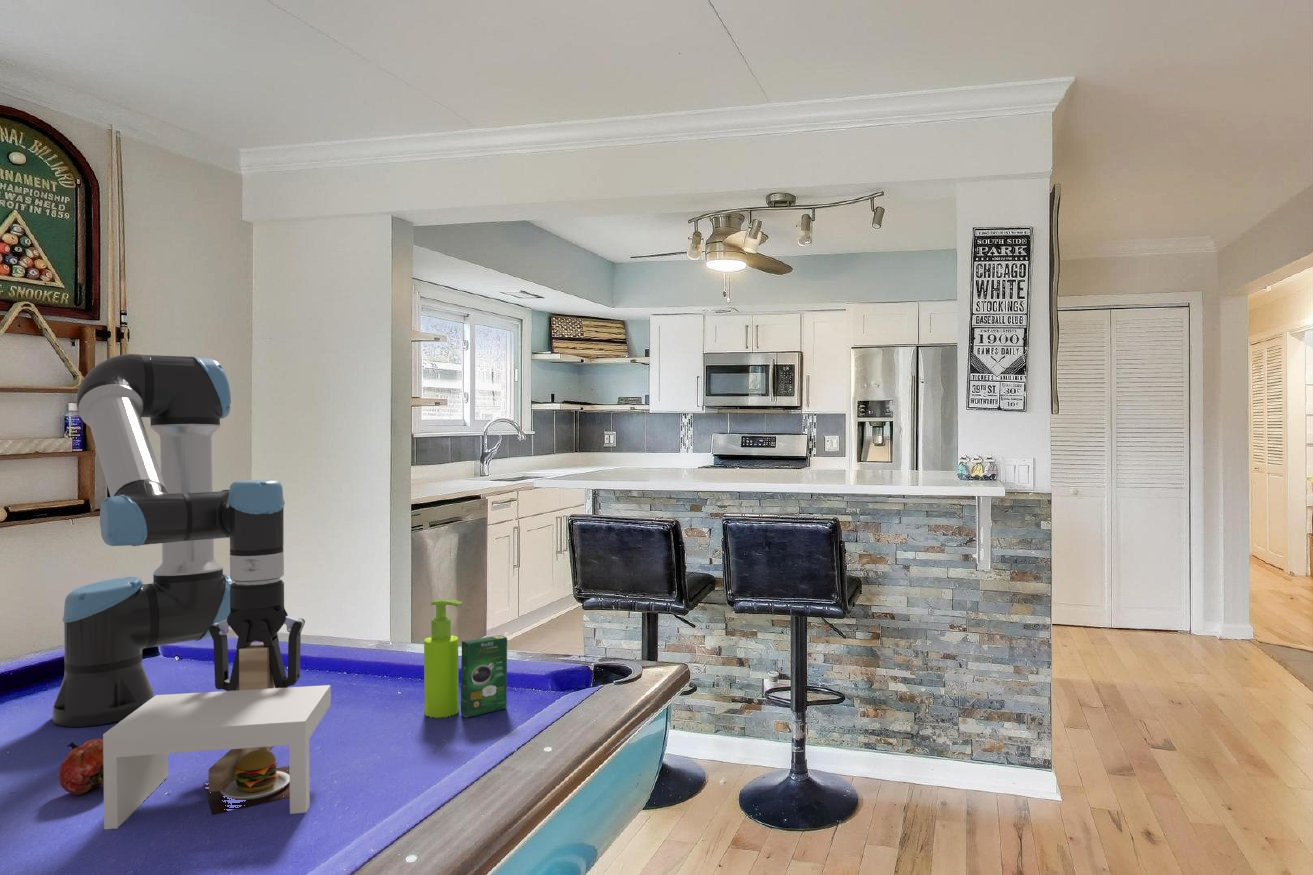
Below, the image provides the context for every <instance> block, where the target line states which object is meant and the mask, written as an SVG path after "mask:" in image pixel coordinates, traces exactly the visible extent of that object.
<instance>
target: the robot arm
mask: <svg viewBox="0 0 1313 875" xmlns="http://www.w3.org/2000/svg"><path fill="white" fill-rule="evenodd" d="M231 397H232V396H231V389H230V384H229V379H228V376H227V374H226V371H225V369H224V368H223V366H222V364H220V362H218V361H217V360H215V359H212V358H205V357H197V356H185V355H184V356H182V355H181V356H180V355H156V354H155V355H153V354H139V353H125V354H120V355H116V356H113V357H110V358H107V359H105V360H104V361H102V362H100V363H98V364H97V365H95V366H94V367H93V368H91V370H89V372H87V374H86V375H85V376H84V378H83V379H82V381H81V383H80V385H79V386H78V389H77V393H76V407H77V411H78V415H79V418H80V419H81V420H82V421H83V423H84V424H86V426H89V427H90V430H91V434H92V437H93V441H94V445H95V448H96V451H97V455H98V458H99V462H100V465H101V469H102V471H103V476H104V480H105V482H106V485H107V489H108V493H109V496H108V497H106V498H104V499H103V501H101V505H100V510H99V526H100V535H101V537H102V541H103V542H104V543H105V544H106V545H107V546H110V547H121V546H123V547H124V546H125V547H126V546H131V547H140V546H146V545H147V546H149V545H156V544H157V545H158V544H161V548H162V549H161V552H162V553H161V555H162V559H161V560H162V561H161V564H160V566H158V567H157V568H156V569H155V570H154V571H153V572H152V573H153V574H152V576H153V577H152V579H153V581H152V583H145V584H144V583H143V581H142V579H141V578H140V577H137V576H128V577H127V576H126V577H122V578H121V577H120V578H119V577H118V578H112V579H106V580H101V581H98V582H97V581H96V582H93V583H90V584H86V585H84V586H80V587H78V588H75V589H74V590H72V591H70V593H68V595H67V596H66V597H65V599H64V607H63V608H64V609H63V616H62V622H63V623H64V624H63V625H64V626H63V630H64V631H63V632H64V634H63V635H64V636H63V637H64V640H63V641H64V642H63V643H64V654H63V655H64V656H63V657H64V676H63V679H62V682H61V685H60V687H59V690H58V693H57V695H56V697H55V698H56V699H55V701H54V703H53V707H52V722H53V723H54V725H57V726H62V727H69V728H70V727H75V728H76V727H92V726H100V725H107V724H110V723H116V722H120V721H122V720H123V719H124V718H126V717H127V716H128V715H130V714H131V713H133V712H134V711H135V710H137V709H138V708H139V707H141V706H142V705H143V704H145V703H146V702H147V701H149V700H150V699H151V698H153V697H154V696H155V693H154V691H153V688H152V685H151V683H150V680H149V678H148V675H147V673H146V671H145V668H144V665H143V650H144V649H148V648H155V647H161V646H166V645H167V646H168V645H173V644H179V643H185V642H192V641H195V642H199V641H200V642H201V641H202V640H203V639H204V640H205V639H209V638H211V639H212V641H213V665H214V686H215V689H217V690H222V691H237V690H239V649H240V648H246V647H247V646H248V645H250V644H251V643H255V642H257V643H260V642H263V644H264V647H268V648H269V664H270V668H271V672H272V676H273V680H274V685H275V687H274V688H289V687H293V686H294V685H296V684H297V682H298V681H299V680H300V678H301V639H302V638H301V636H302V635H301V634H302V632H303V628H304V626H305V623H306V620H305V619H304V618H301V617H300V618H298V619H297V618H295V617H292V616H289V615H288V613H287V610H286V608H285V582H284V581H283V579H281V578H282V577H284V576H285V563H284V562H285V560H284V559H285V556H284V547H285V546H284V545H285V544H284V532H285V531H284V530H285V528H284V525H285V524H284V515H285V514H284V508H285V500H284V491H283V485H282V483H281V481H278V480H275V479H271V480H270V479H269V480H267V479H253V480H252V479H251V480H250V479H249V480H248V479H247V480H237V481H234V482H232V483H230V485H229V489H223V490H220V491H219V490H218V491H213V457H212V456H213V450H212V449H213V448H212V447H213V446H212V436H213V434H214V433H216V431H217V430H218V429H220V427H221V420H223V419H225V418H226V417H228V415H229V414H230V411H231V403H232V398H231ZM143 418H150V420H149V421H150V429H152V430H153V431H154V432H155V433H156V434H157V435H159V440H160V442H159V443H160V446H159V447H160V448H159V449H160V467H159V464H158V461H157V459H156V455H155V453H154V449H153V447H152V444H151V441H150V439H149V436H148V433H147V431H146V427H145V425H144V422H143ZM226 538H227V539H229V575H228V574H224V567H223V565H222V564H220V563H219V562H217V561H216V559H215V556H214V555H215V550H214V548H215V547H214V546H215V545H214V539H226ZM284 625H285V626H286V632H288V633H289V634H288V639H287V640H288V642H287V643H288V644H287V645H288V646H287V673H286V669H285V665H284V660H283V657H282V652H281V649H280V644H279V643H280V640H279V634H278V633H279V631H280V630H281V629H282V627H283V626H284ZM229 629H231V630H232V631H233V632H234V634H236V636H237V642H236V646H235V647H236V650H235V655H234V660H233V664H232V669H231V674H230V672H229V671H230V670H229V647H228V646H229V643H228V635H227V634H228V633H229V632H230V631H229Z"/></svg>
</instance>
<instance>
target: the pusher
mask: <svg viewBox="0 0 1313 875" xmlns="http://www.w3.org/2000/svg"><path fill="white" fill-rule="evenodd" d="M274 687H275V685H274V680H273V676H272V672H271V668H270V664H269V648H268V647H264V644H263V642H252V643H251V644H250V645H248V646H247V647H246V648H240V649H239V690H254V689H271V688H274ZM274 747H275V746H270V747H256V748H241V749H229V750H228V751H227V752H226V753H225V754H224V755H223V756H222V757H220V758H219V760H218V761H216V762H215V763H214V764H213V765H212V766H211V767H209V769H208V782H209V792H211V791H223V790H224V789H225V788H226V787H227V786H228V785H229V784H230V783H231V782H232V781H233V780H234V779H235V778H236V777H234V774H235V772H236V770H237V769H236V767H237V763H238V761H239V759H240V758H241V757H242V756H243V755H245V754H247V753H249V752H251V751H255V750H267V751H270V752H271V750H272V749H274Z"/></svg>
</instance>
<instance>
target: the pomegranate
mask: <svg viewBox="0 0 1313 875" xmlns="http://www.w3.org/2000/svg"><path fill="white" fill-rule="evenodd" d="M66 747H67V748H69V747H71V751H70V752H68V754H67V756H66V758H65V759H64V761H63V762H62V763H61V765H60V767H59V772H58V780H59V784H60V786H61V788H62V789H63V790H64V791H65V792H67V793H70V794H72V795H74V796H81V795H83V794H85V793H87V792H88V791H90V790H93V789H96V788H99V787H101V786H103V787H104V764H103V738H102V739H101V738H95V739H93V738H92V739H89V740H87V741H85V742H84V743H83V744H82V745H77V744H75V742H74V741H73V742H70V743H69V744H68V745H66Z"/></svg>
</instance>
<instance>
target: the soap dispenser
mask: <svg viewBox="0 0 1313 875" xmlns="http://www.w3.org/2000/svg"><path fill="white" fill-rule="evenodd" d="M463 604H464V602H463V601H460V600H457V599H452V598H451V599H449V598H447V599H444V598H443V599H435V600H433V601H431V603H430V605H431V606H435V616H434V617H433V618H432V619H431V620H430V621H431V622H430V631H431V632H430V633H431V634H430V636H428V637H426V638H424V639H423V658H424V659H423V660H424V661H423V662H424V663H423V667H424V668H423V671H424V672H423V673H424V674H423V676H424V679H423V681H424V684H423V685H424V689H423V690H424V716H426V717H428V716H429V717H428V718H432V717H434V718H436V719H441V718H442V717H443V718H449V717H452V716H455V715H457V714H458V713H459V710H460V706H459V705H460V702H459V697H460V696H459V694H460V692H459V691H460V690H459V637H458V636H456V635H452V626H451V625H452V618H450V617H449V616H446V615H447V612H446V611H447V606H453V607H456V608H458V607H461V606H462V605H463ZM451 715H452V716H451ZM448 716H449V717H448ZM443 718H442V719H443Z"/></svg>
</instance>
